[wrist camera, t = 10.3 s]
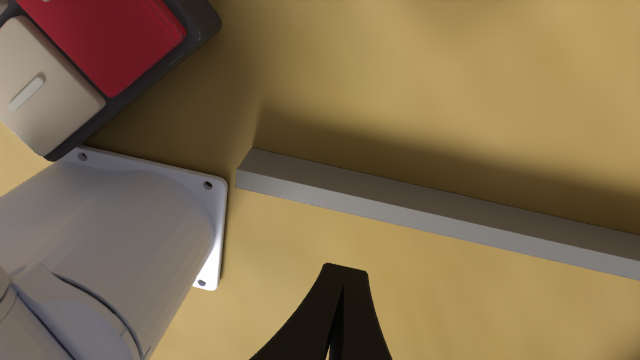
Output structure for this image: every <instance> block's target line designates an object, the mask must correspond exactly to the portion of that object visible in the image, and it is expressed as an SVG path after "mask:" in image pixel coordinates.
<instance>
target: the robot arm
mask: <svg viewBox="0 0 640 360" xmlns="http://www.w3.org/2000/svg"><path fill="white" fill-rule="evenodd" d="M82 153H84V154H85V155H86V156H87V158H86V157H84V156H83V154H82ZM205 181H208V182H210V183H211V184H212V186H208V185H207V184H206V182H205ZM227 190H228V185H227V182H226V181H225V180H224V179H223V178H221V177H218V176H214V175H209V174H205V173H201V172H196V171H192V170H188V169H183V168H179V167H175V166H170V165H166V164H162V163H157V162H153V161H149V160H144V159H140V158H135V157H131V156H127V155H122V154H118V153H114V152H109V151H105V150H101V149H96V148H92V147H88V146H83V145H78V146H77V147H76V148H74V149H73V150H72V151H70V152H69V153H68V154H66V155H65V156H64V157H62V158H61V159H59V160H58V161H56V162H55V163H53V164H51V165H50V166H48V167H47V168H45V169H44V170H42V171H40V172H39V173H37V174H36V175H34V176H33V177H31V178H30V179H28V180H26V181H25V182H23V183H22V184H20V185H19V186H17V187H15V188H14V189H12V190H11V191H9V192H8V193H6V194H5V195H3V196H1V197H0V360H149V359H150V357H151V355H152V354H153V352H154V350H155V349H156V347H157V345H158V343H159V342H160V340H161V338H162V337H163V335H164V333H165V331H166V330H167V328H168V326H169V325H170V323H171V321H172V319H173V318H174V316H175V314H176V313H177V311H178V309H179V307H180V306H181V304H182V302H183V301H184V299H185V297H186V295H187V294H188V292H189V290H190V289H191V287H192V286H194V287H198V288H202V289H206V290H215V289H217V287H218V285H219V282H220V270H221V259H222V247H223V236H224V224H225V213H226V201H227ZM202 280H204V281H205V282H203V281H202ZM329 346H330V351H329V360H392V357H391V355H390V352H389V350H388V347H387V345H386V342H385V339H384V337H383V334H382V331H381V328H380V325H379V322H378V318H377V315H376V312H375V308H374V305H373V300H372V296H371V292H370V286H369V279H368V274H367V272H366V271H363V270H359V269H354V268H350V267H345V266H340V265H336V264H331V263H326V264H324V265H323V267H322V270H321V272H320V274H319V276H318V278H317V280H316V281H315V283H314V285H313V286H312V288H311V290H310V291H309V293H308V294H307V295H306V297H305V298H304V300H303V301H302V303H301V304H300V305H299V307H298V308H297V309H296V311H295V312H294V313H293V314H292V316H291V317H290V318H289V319H288V320H287V322H286V323H285V324H284V325H283V326H282V327H281V329H280V330H279V331H278V332H277V333H276V334H275V335H274V336H273V337H272V338H271V339H270V340H269V341H268V342H267V343H266V344H265V345H264V346H263V347H262V348H261V349H260V350H259V351H258V352H257V353H256V354H255V355H254V356H253V357H251V358H250V359H249V360H326V356H327V353H328V349H329Z"/></svg>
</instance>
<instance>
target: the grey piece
mask: <svg viewBox="0 0 640 360" xmlns="http://www.w3.org/2000/svg"><path fill="white" fill-rule="evenodd" d="M235 188H240V189H244V190H248V191H253V192H257V193H261V194H266V195H270V196H274V197H279V198H283V199H287V200H292V201H296V202H300V203H305V204H309V205H313V206H318V207H322V208H326V209H331V210H335V211H339V212H344V213H348V214H352V215H357V216H361V217H365V218H370V219H374V220H378V221H383V222H387V223H391V224H396V225H400V226H405V227H409V228H413V229H418V230H422V231H426V232H431V233H435V234H439V235H444V236H448V237H452V238H457V239H461V240H465V241H470V242H474V243H478V244H483V245H487V246H491V247H496V248H500V249H504V250H509V251H513V252H517V253H522V254H526V255H530V256H535V257H539V258H543V259H548V260H552V261H556V262H561V263H565V264H570V265H574V266H578V267H583V268H587V269H591V270H596V271H600V272H604V273H609V274H613V275H617V276H622V277H626V278H630V279H635V280H639V281H640V236H639V235H635V234H630V233H626V232H622V231H617V230H613V229H608V228H604V227H600V226H595V225H591V224H586V223H582V222H578V221H573V220H569V219H564V218H560V217H555V216H551V215H547V214H542V213H538V212H533V211H529V210H525V209H520V208H516V207H511V206H507V205H502V204H498V203H494V202H489V201H485V200H480V199H476V198H472V197H467V196H463V195H458V194H454V193H449V192H445V191H441V190H436V189H432V188H427V187H423V186H419V185H414V184H410V183H405V182H401V181H396V180H392V179H388V178H383V177H379V176H374V175H370V174H366V173H361V172H357V171H352V170H348V169H344V168H339V167H335V166H330V165H326V164H321V163H317V162H313V161H308V160H304V159H299V158H295V157H291V156H286V155H282V154H277V153H273V152H268V151H264V150H260V149H255V148H251V149H250V151H249V152H248V154H247V155H246V157H245V158H244V159H243V161H242V162H241V164H240V165H239V167H238V168H237V172H236V182H235Z"/></svg>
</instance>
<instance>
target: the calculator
mask: <svg viewBox="0 0 640 360" xmlns="http://www.w3.org/2000/svg"><path fill="white" fill-rule="evenodd" d="M220 28H221V19H220V17H219V16H218V14H217V13H216V11H215V10H214V9H213V7H212V6H211V5H210V3H209V2H208V1H207V0H0V121H1V122H3V123H4V124H5V125H6V126H7V127H8V128H9V129H10V130H11V131H12V132H13V133H14V134H16V135H17V136H18V137H19V138H20V139H21V140H22V141H23V142H24V143H25V144H26V145H28V146H29V147H30V148H31V149H32V150H33V151H34V152H35V153H37V154H38V155H40V156H43V157H44V158H45V159H46V160H48V161H51V162H55V161H58V160H59V159H61V158H62V157H64V156H65V155H66V154H68V153H69V152H70V151H72V150H73V149H74V148H76V147H77V146H78V145H80V144H81V143H82V142H84V141H85V140H86V139H88V138H89V137H90V136H91V135H93V134H94V133H95V132H96V131H98V130H99V129H100V128H101V127H102V126H104V125H105V124H106V123H107V122H109V121H110V120H111V119H112V118H113V117H115V116H116V115H117V114H118V113H120V112H121V111H122V110H123V109H124V108H126V107H127V106H128V105H129V104H131V103H132V102H133V101H134V100H135V99H137V98H138V97H139V96H140V95H142V94H143V93H144V92H145V91H146V90H148V89H149V88H150V87H151V86H152V85H154V84H155V83H156V82H157V81H159V80H160V79H161V78H162V77H163V76H165V75H166V74H167V73H168V72H170V71H171V70H172V69H173V68H174V67H176V66H177V65H178V64H179V63H181V62H182V61H183V60H184V59H185V58H187V57H188V56H189V55H190V54H191V53H193V52H194V51H195V50H196V49H198V48H199V47H200V46H201V45H202V44H204V43H205V42H206V41H207V40H209V39H210V38H211V37H212V36H213V35H215V34H216V33H217V32H218V31H219V30H220Z"/></svg>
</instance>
